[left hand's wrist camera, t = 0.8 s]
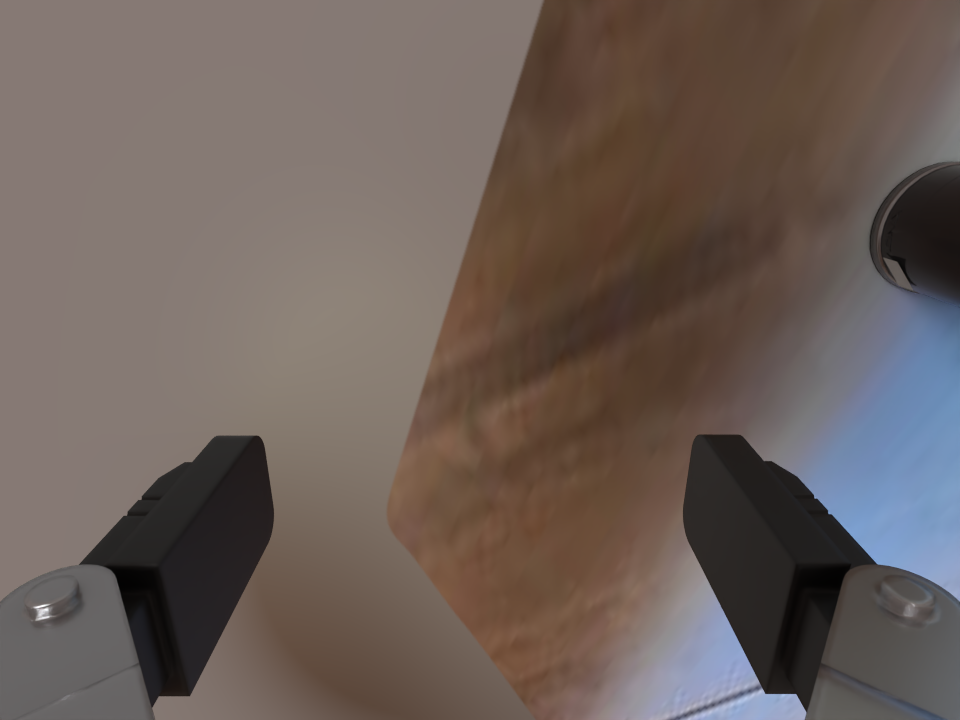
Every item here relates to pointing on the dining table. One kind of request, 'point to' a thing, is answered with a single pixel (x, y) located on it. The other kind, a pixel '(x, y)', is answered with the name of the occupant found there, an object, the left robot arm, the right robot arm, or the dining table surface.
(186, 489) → the left robot arm
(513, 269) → the dining table surface
